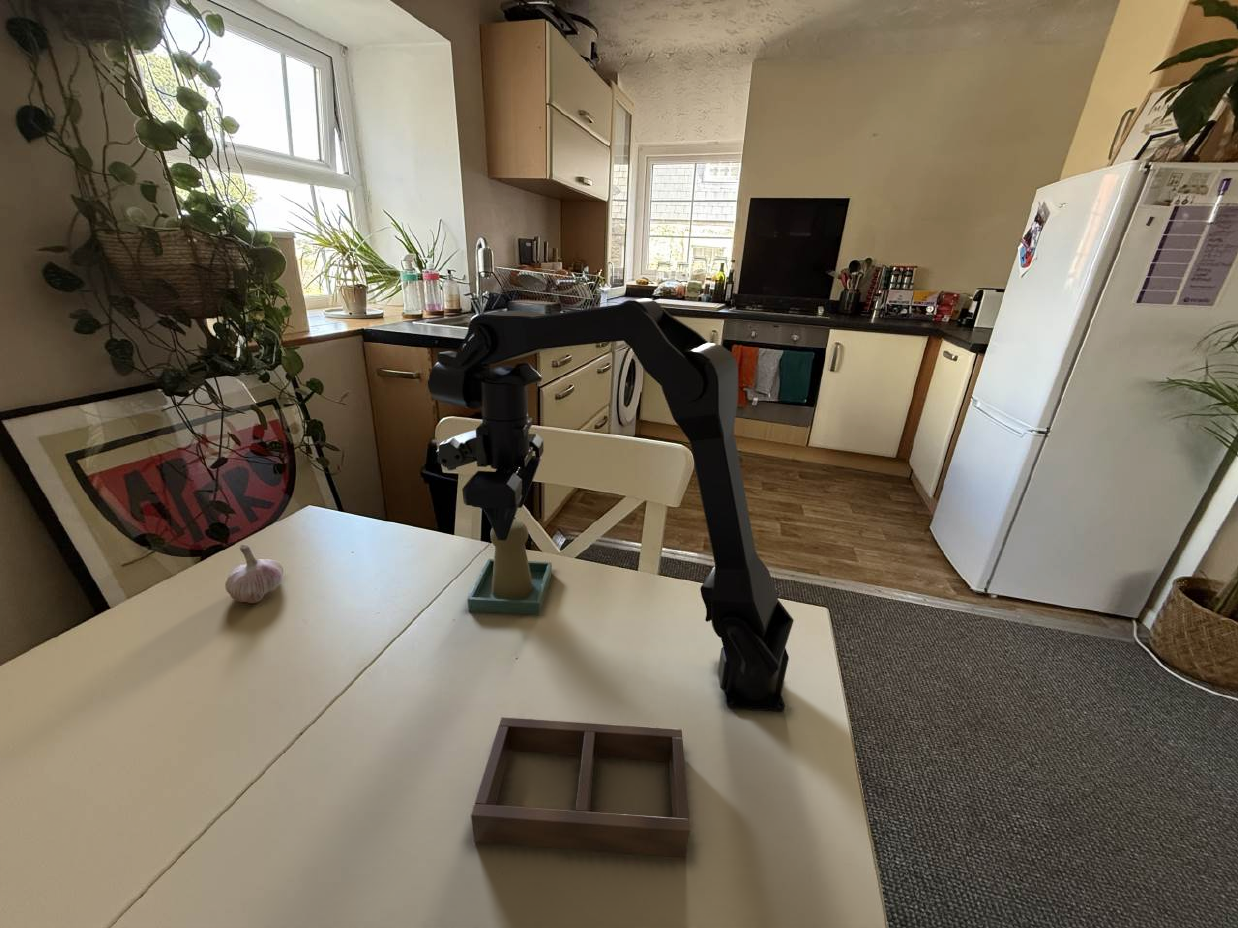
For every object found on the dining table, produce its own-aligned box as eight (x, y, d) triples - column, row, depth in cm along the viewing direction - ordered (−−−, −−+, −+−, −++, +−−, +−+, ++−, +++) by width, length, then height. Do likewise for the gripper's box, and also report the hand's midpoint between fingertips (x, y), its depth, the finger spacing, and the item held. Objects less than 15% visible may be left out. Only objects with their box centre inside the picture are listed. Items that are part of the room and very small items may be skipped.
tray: (551, 572, 78) (551, 562, 77) (539, 615, 69) (539, 603, 68) (489, 569, 78) (488, 558, 78) (468, 610, 69) (467, 599, 68)
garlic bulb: (253, 613, 67) (238, 563, 64) (213, 601, 69) (196, 552, 66) (301, 581, 74) (289, 534, 71) (263, 571, 76) (250, 526, 72)
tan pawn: (524, 604, 70) (521, 537, 66) (484, 597, 71) (478, 531, 67) (539, 579, 75) (537, 516, 71) (501, 573, 76) (497, 510, 72)
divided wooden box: (678, 753, 50) (681, 728, 49) (686, 857, 41) (690, 831, 40) (503, 741, 51) (501, 716, 49) (473, 842, 42) (470, 815, 41)
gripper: (466, 393, 72) (474, 490, 78) (410, 435, 54) (426, 556, 60) (543, 397, 71) (545, 494, 77) (511, 440, 54) (517, 561, 60)
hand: (510, 522), depth 69 cm, fingers open, 9 cm apart
